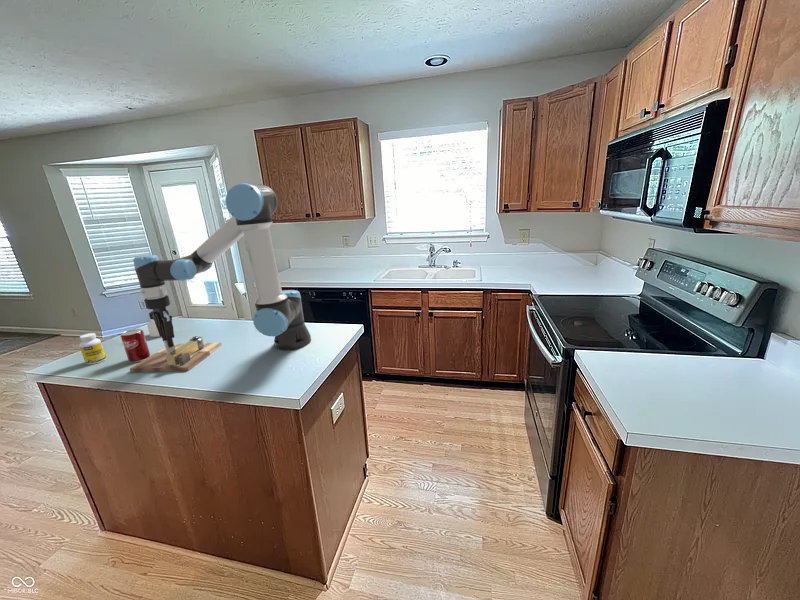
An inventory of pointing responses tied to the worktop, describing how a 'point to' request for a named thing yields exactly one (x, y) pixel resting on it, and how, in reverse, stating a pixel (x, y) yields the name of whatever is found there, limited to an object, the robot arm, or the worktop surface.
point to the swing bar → (185, 350)
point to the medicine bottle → (153, 327)
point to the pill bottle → (92, 349)
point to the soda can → (135, 345)
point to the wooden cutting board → (185, 361)
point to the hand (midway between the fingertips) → (171, 353)
